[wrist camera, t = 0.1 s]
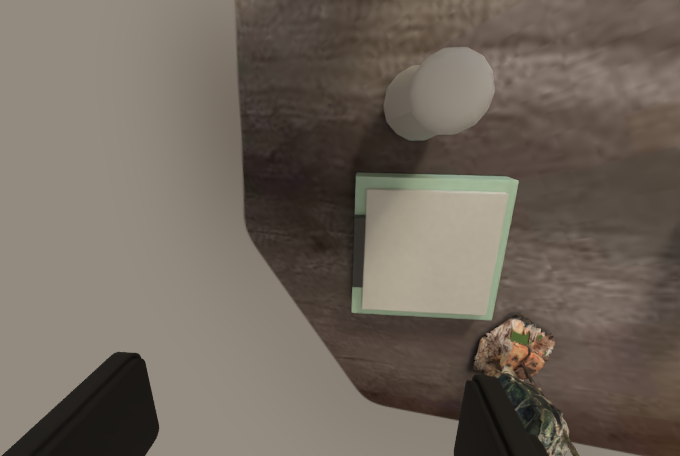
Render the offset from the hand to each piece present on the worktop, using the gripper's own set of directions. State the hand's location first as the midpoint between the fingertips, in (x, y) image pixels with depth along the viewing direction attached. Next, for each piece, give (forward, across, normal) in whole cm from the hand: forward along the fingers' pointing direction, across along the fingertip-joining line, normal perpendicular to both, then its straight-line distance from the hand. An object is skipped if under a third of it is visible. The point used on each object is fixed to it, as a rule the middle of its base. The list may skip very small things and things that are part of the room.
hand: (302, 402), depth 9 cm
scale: (+23, -8, +4) cm, 25 cm away
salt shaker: (+24, -6, -9) cm, 26 cm away
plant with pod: (+24, -18, +17) cm, 34 cm away
